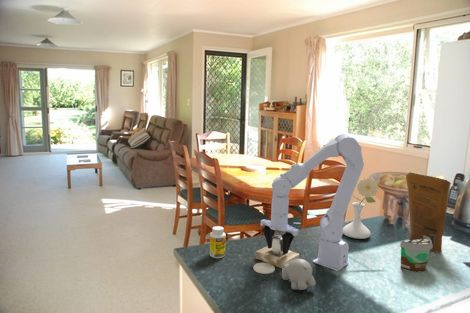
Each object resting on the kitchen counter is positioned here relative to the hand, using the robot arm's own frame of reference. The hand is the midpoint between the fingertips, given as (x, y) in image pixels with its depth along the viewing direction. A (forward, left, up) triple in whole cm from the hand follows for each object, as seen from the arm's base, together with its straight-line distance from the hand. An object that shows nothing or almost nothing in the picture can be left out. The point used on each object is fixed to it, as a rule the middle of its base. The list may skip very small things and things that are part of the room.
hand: (277, 250), depth 127 cm
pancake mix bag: (-33, -52, -4) cm, 61 cm away
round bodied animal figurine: (-14, +11, -4) cm, 18 cm away
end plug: (0, 0, -3) cm, 3 cm away
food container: (-38, -28, -4) cm, 47 cm away
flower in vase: (-11, -42, -4) cm, 43 cm away
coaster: (-1, +9, -3) cm, 10 cm away
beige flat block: (0, 0, -3) cm, 3 cm away
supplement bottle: (+17, +12, -4) cm, 21 cm away
